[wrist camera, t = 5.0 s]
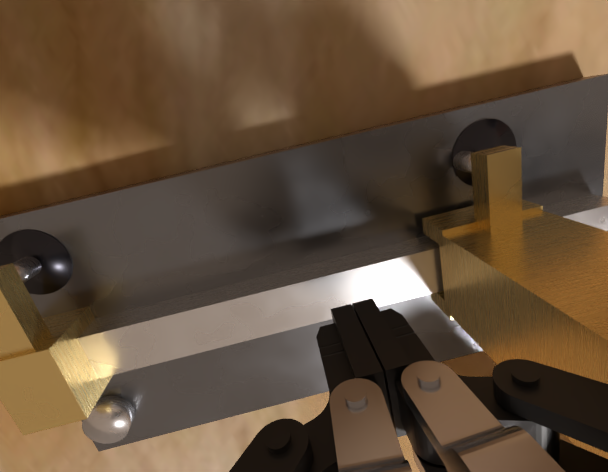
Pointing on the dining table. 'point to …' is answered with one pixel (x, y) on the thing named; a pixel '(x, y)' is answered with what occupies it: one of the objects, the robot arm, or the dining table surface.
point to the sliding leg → (523, 273)
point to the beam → (197, 320)
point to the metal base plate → (287, 242)
